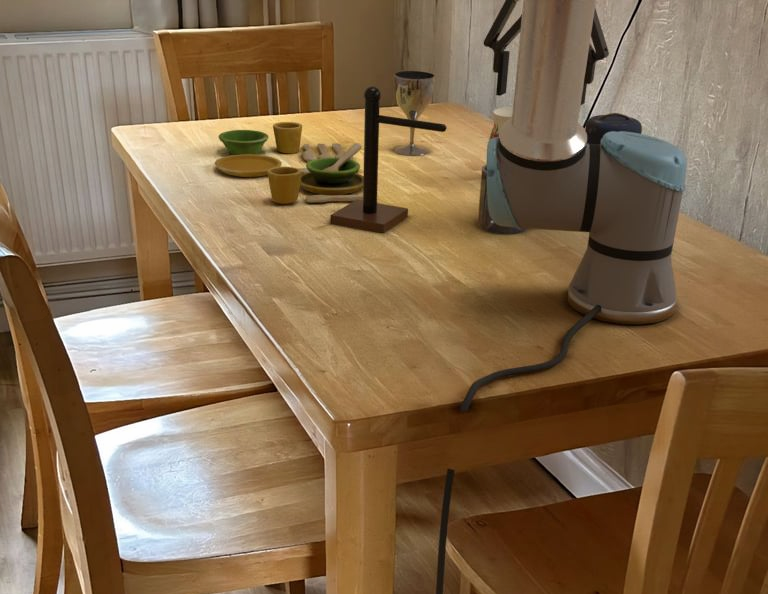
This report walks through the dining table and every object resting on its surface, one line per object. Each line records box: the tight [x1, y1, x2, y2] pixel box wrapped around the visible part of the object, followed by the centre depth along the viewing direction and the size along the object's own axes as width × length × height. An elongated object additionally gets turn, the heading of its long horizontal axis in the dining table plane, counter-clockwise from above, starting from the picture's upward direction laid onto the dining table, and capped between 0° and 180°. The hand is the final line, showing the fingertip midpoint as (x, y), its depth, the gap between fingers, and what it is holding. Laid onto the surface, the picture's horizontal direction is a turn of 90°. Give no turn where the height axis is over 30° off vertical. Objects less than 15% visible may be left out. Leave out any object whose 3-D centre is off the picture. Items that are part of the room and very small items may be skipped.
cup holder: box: [330, 85, 447, 234], centre depth 174 cm, size 10×18×22 cm, turn 65°
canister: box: [584, 112, 643, 144], centre depth 181 cm, size 10×10×18 cm
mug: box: [477, 164, 528, 235], centre depth 177 cm, size 13×9×10 cm, turn 155°
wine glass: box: [393, 70, 435, 157], centre depth 216 cm, size 8×8×15 cm
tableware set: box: [214, 121, 364, 204], centre depth 202 cm, size 41×28×6 cm
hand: (539, 99), depth 173 cm, fingers open, 13 cm apart
